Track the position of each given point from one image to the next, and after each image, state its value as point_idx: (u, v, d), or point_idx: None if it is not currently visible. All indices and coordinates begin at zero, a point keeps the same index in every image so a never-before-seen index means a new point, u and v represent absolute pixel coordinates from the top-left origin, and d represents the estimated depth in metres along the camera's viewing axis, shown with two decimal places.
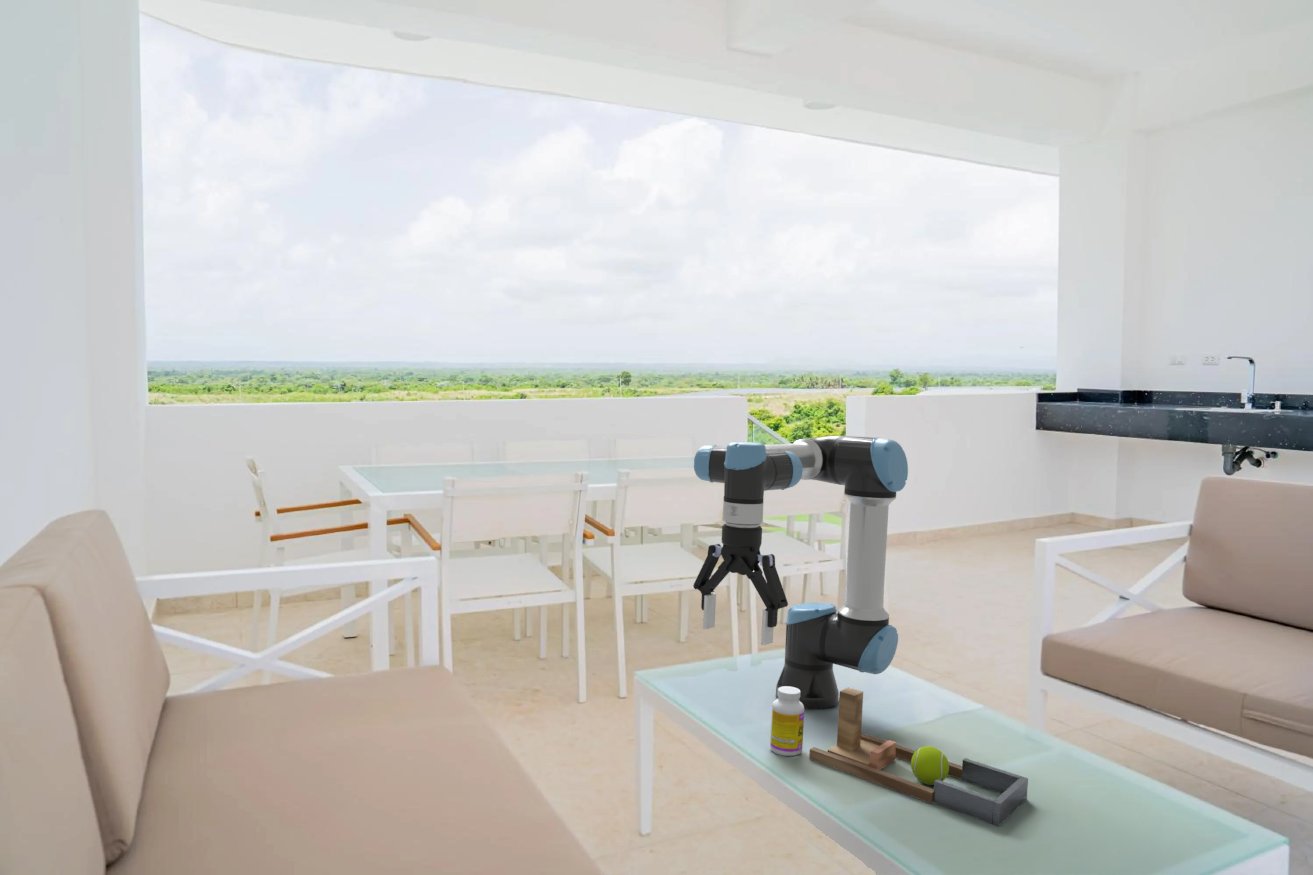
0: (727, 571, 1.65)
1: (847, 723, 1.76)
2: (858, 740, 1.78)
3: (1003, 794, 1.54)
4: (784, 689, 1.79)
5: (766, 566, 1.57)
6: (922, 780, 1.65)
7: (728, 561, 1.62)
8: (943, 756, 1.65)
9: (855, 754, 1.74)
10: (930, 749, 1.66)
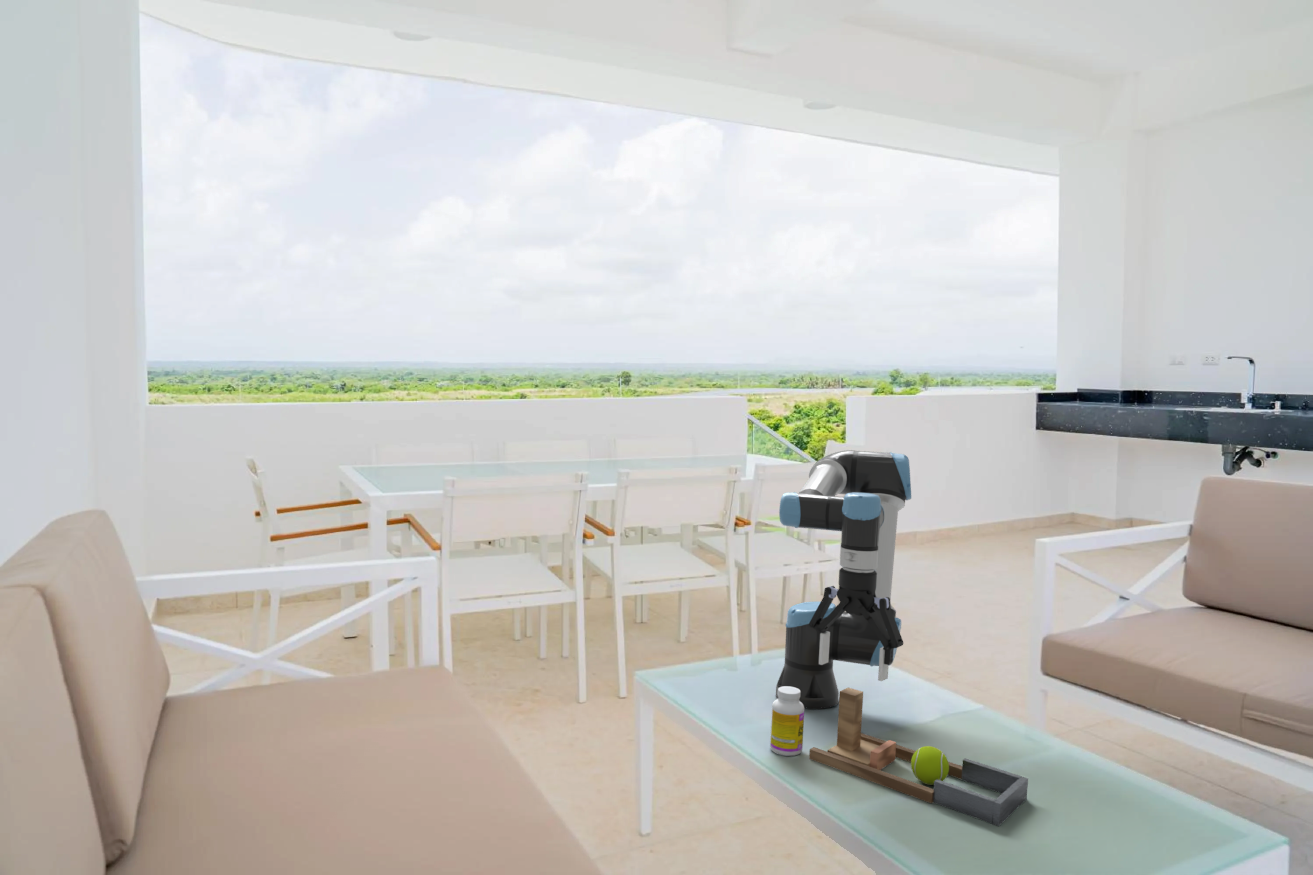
0: (842, 611, 1.79)
1: (847, 723, 1.76)
2: (858, 740, 1.78)
3: (1003, 794, 1.54)
4: (784, 689, 1.79)
5: (883, 608, 1.71)
6: (922, 780, 1.65)
7: (845, 603, 1.76)
8: (943, 756, 1.65)
9: (855, 754, 1.74)
10: (930, 749, 1.66)
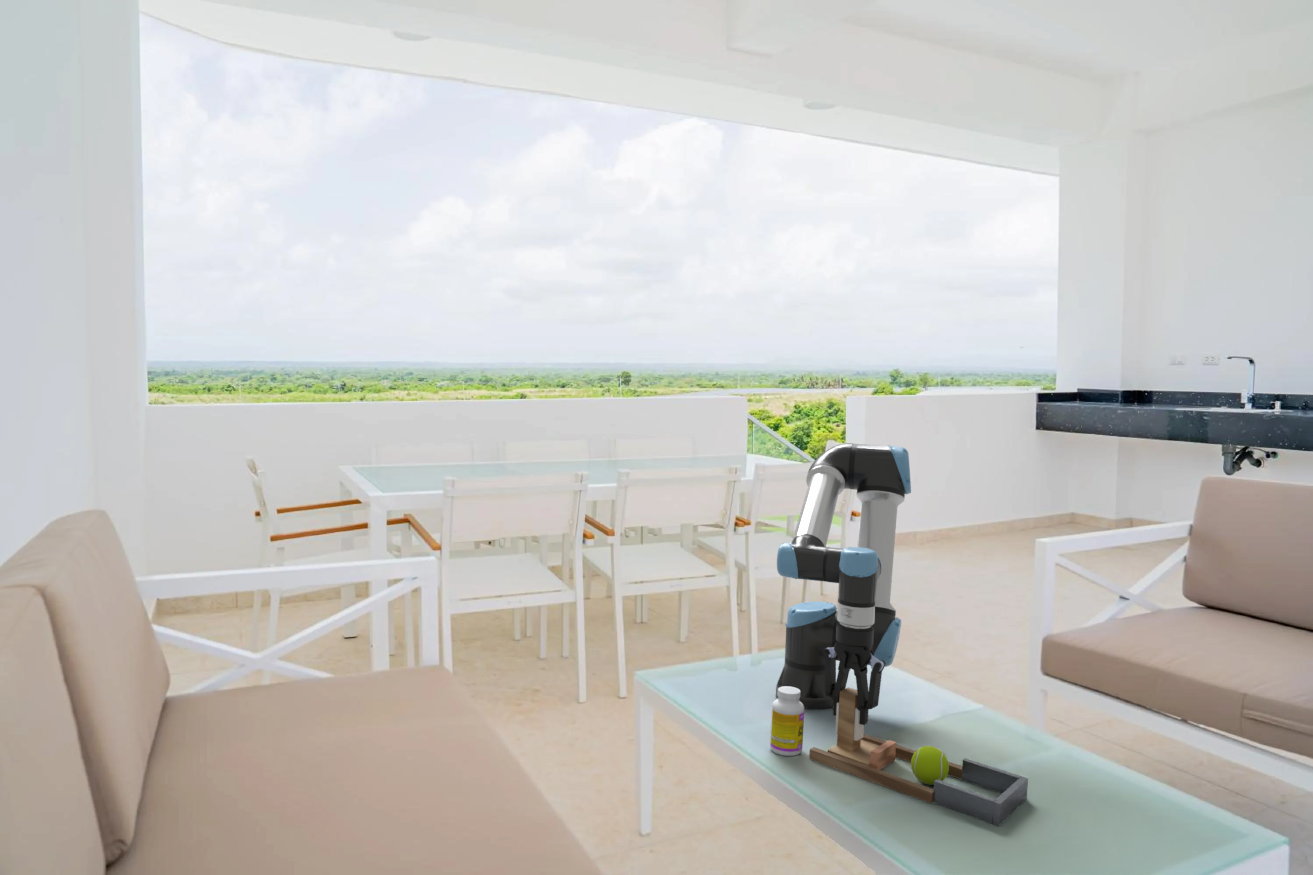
0: (847, 670, 1.78)
1: (847, 723, 1.76)
2: (858, 740, 1.78)
3: (1003, 794, 1.54)
4: (784, 689, 1.79)
5: (875, 672, 1.73)
6: (922, 780, 1.65)
7: (844, 658, 1.76)
8: (943, 756, 1.65)
9: (855, 754, 1.74)
10: (930, 749, 1.66)
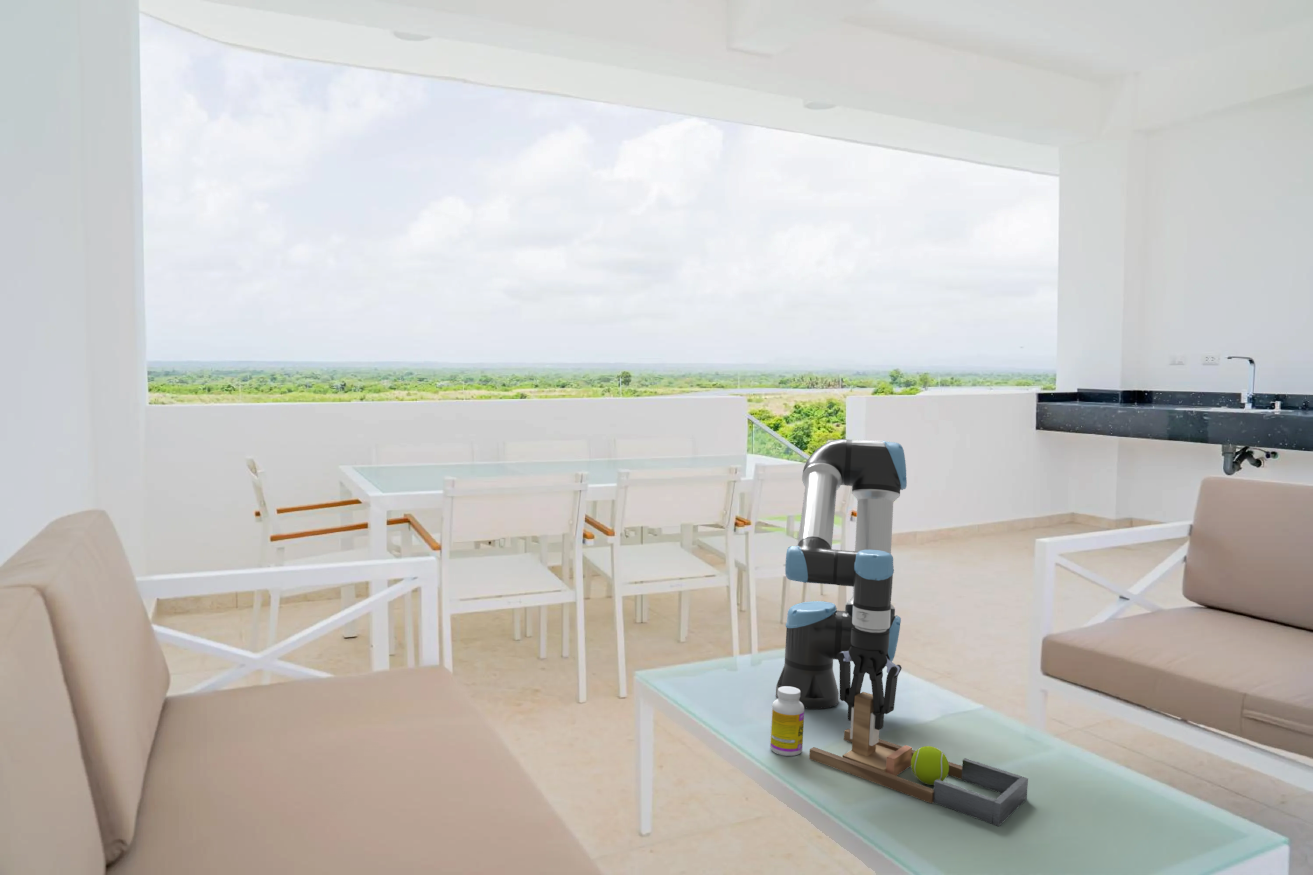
0: (862, 674, 1.76)
1: (862, 728, 1.74)
2: (874, 745, 1.75)
3: (1003, 794, 1.54)
4: (784, 689, 1.79)
5: (891, 676, 1.70)
6: (922, 780, 1.65)
7: (859, 662, 1.74)
8: (943, 756, 1.65)
9: (870, 759, 1.72)
10: (930, 749, 1.66)
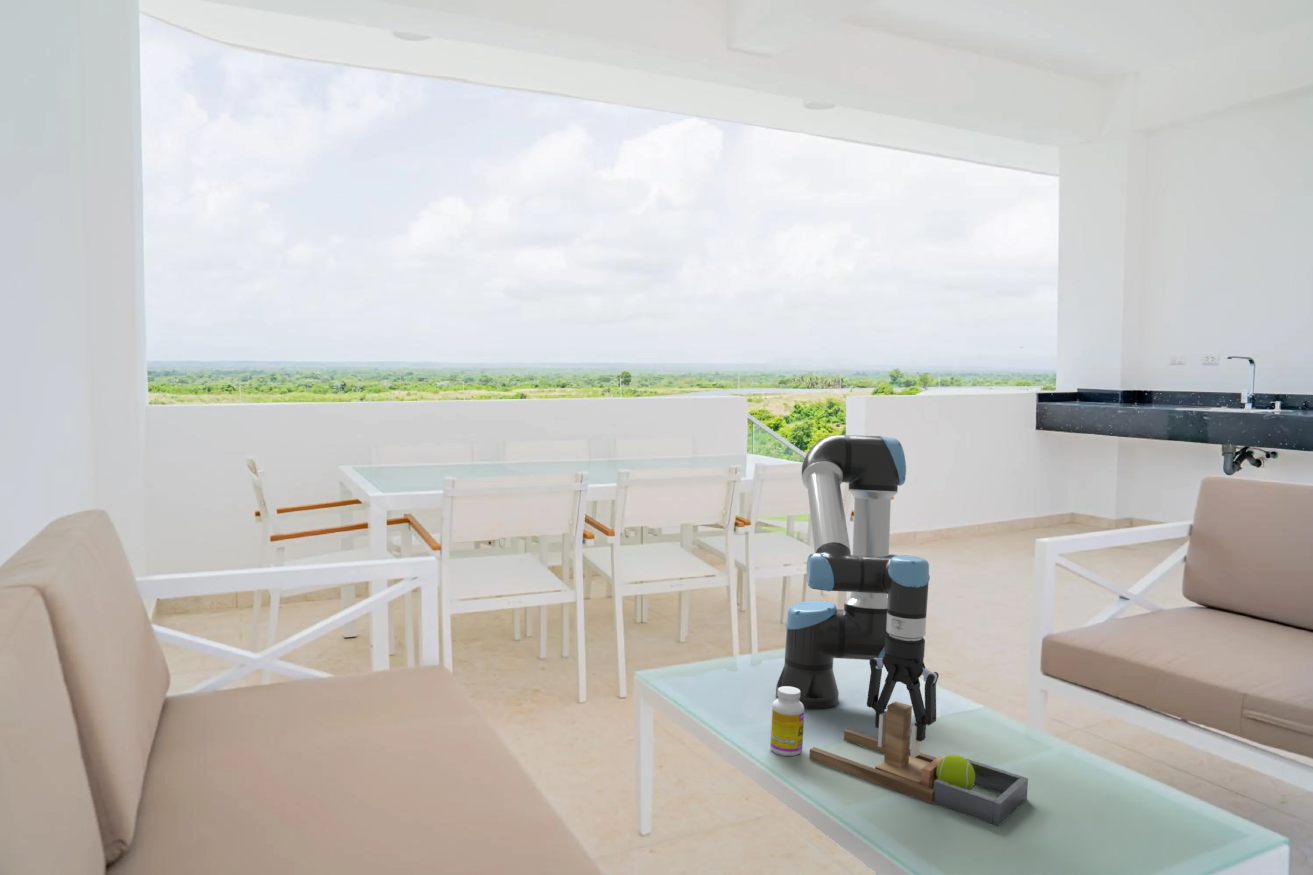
0: (894, 682, 1.71)
1: (895, 739, 1.69)
2: (907, 756, 1.71)
3: (1003, 794, 1.54)
4: (784, 689, 1.79)
5: (929, 684, 1.65)
6: None
7: (893, 671, 1.69)
8: (969, 765, 1.61)
9: (904, 771, 1.67)
10: (956, 758, 1.62)
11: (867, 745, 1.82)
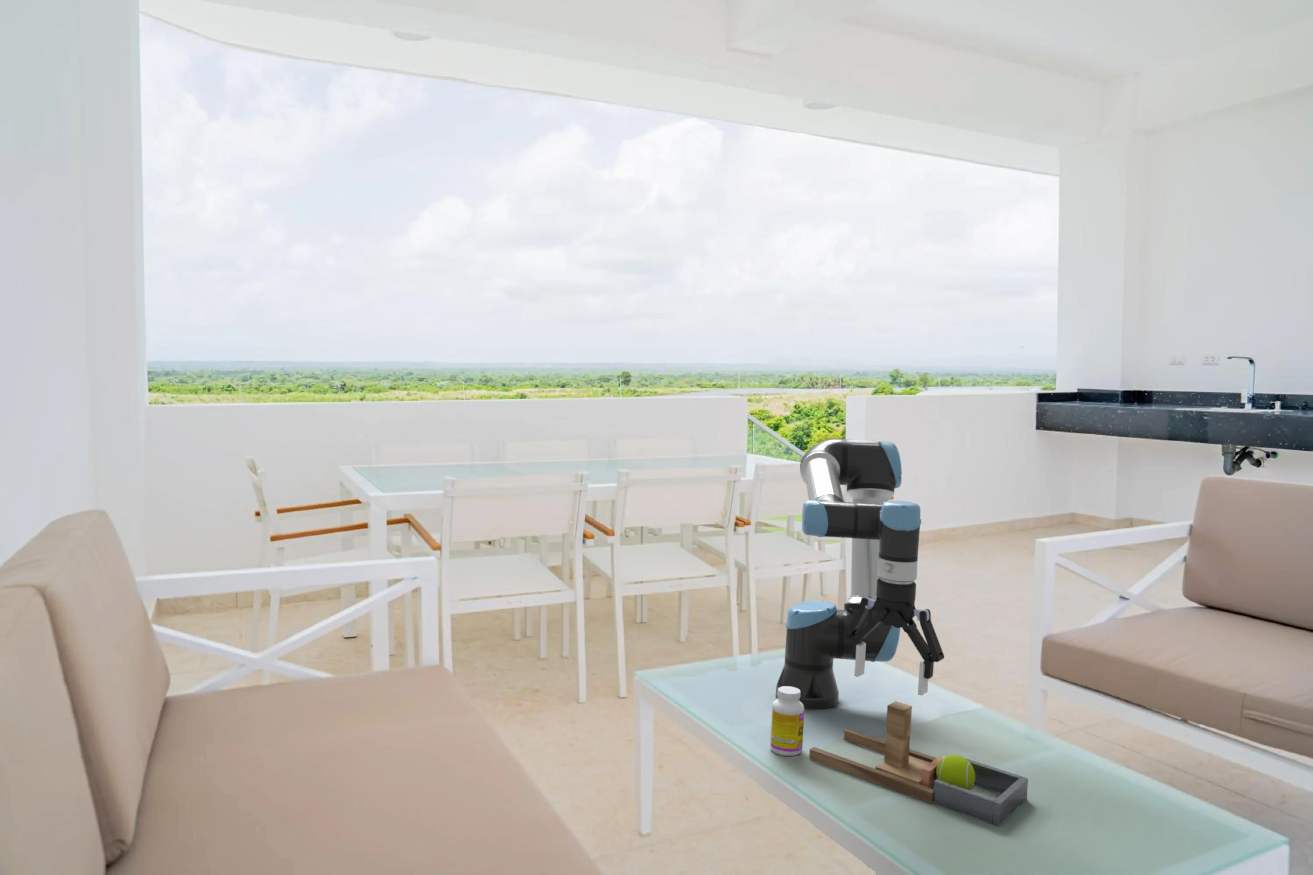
0: (879, 623, 1.74)
1: (895, 739, 1.69)
2: (907, 756, 1.71)
3: (1003, 794, 1.54)
4: (784, 689, 1.79)
5: (924, 621, 1.66)
6: None
7: (883, 614, 1.70)
8: (969, 765, 1.61)
9: (904, 771, 1.67)
10: (956, 758, 1.62)
11: (867, 745, 1.82)
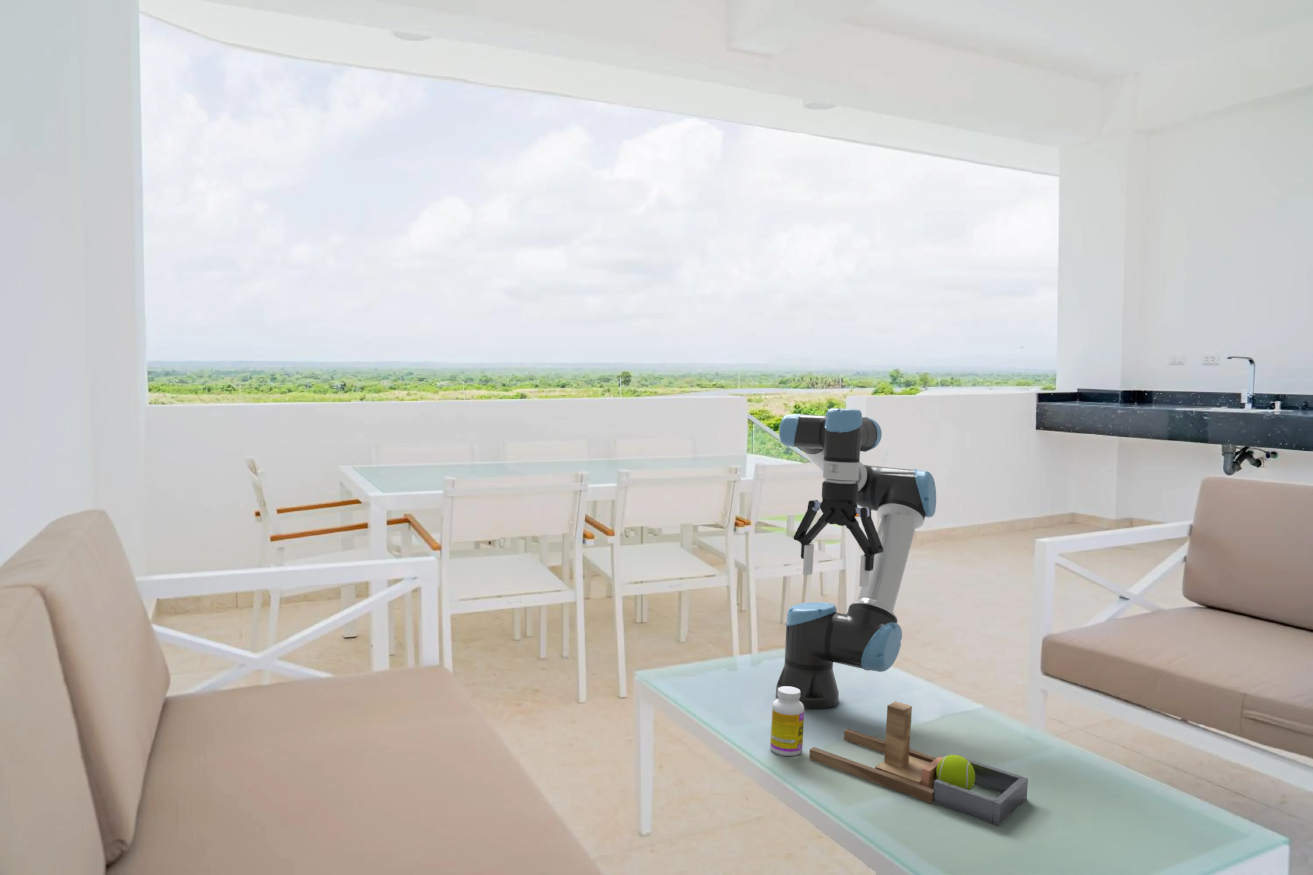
0: (825, 523, 1.86)
1: (895, 739, 1.69)
2: (907, 756, 1.71)
3: (1003, 794, 1.54)
4: (784, 689, 1.79)
5: (864, 517, 1.78)
6: None
7: (828, 514, 1.83)
8: (969, 765, 1.61)
9: (904, 771, 1.67)
10: (956, 758, 1.62)
11: (867, 745, 1.82)
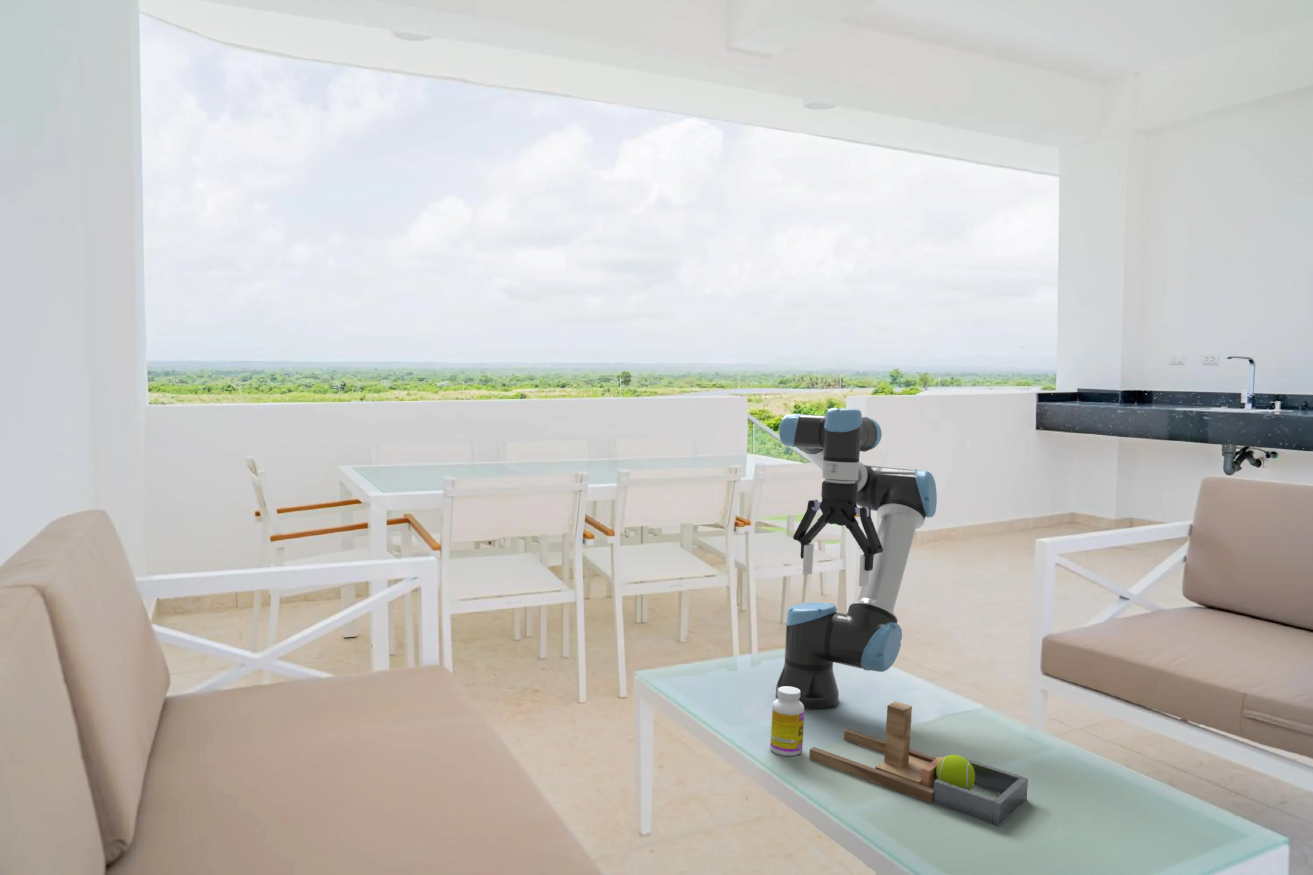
0: (825, 523, 1.86)
1: (895, 739, 1.69)
2: (907, 756, 1.71)
3: (1003, 794, 1.54)
4: (784, 689, 1.79)
5: (864, 517, 1.78)
6: None
7: (827, 513, 1.83)
8: (969, 765, 1.61)
9: (904, 771, 1.67)
10: (956, 758, 1.62)
11: (867, 745, 1.82)
